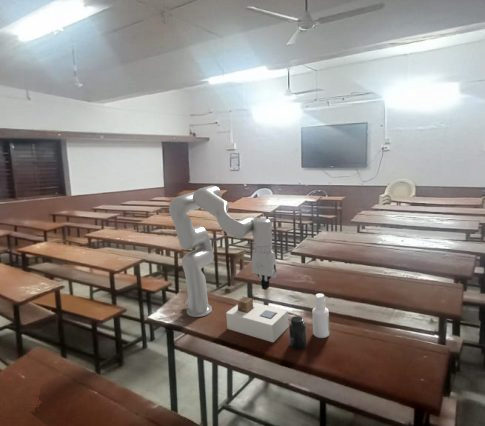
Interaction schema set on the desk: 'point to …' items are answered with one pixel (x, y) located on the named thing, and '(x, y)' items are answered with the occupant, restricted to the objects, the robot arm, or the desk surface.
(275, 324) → the peg board
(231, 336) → the desk surface
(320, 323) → the spray bottle
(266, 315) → the slate peg
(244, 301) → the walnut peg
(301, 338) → the supplement bottle
